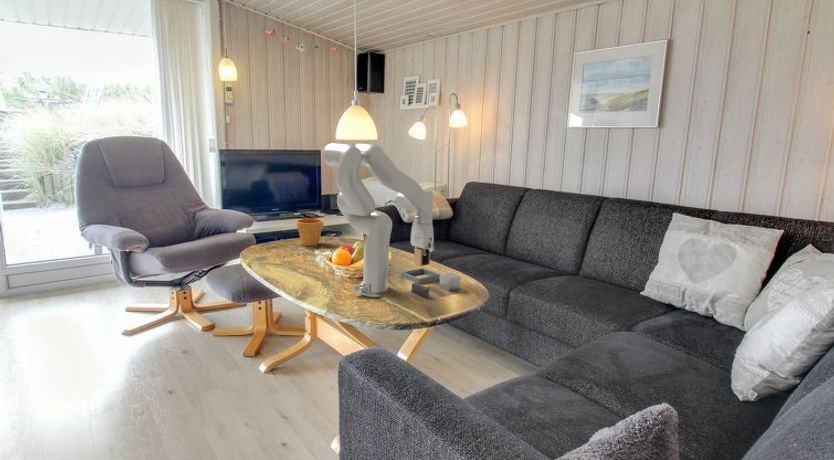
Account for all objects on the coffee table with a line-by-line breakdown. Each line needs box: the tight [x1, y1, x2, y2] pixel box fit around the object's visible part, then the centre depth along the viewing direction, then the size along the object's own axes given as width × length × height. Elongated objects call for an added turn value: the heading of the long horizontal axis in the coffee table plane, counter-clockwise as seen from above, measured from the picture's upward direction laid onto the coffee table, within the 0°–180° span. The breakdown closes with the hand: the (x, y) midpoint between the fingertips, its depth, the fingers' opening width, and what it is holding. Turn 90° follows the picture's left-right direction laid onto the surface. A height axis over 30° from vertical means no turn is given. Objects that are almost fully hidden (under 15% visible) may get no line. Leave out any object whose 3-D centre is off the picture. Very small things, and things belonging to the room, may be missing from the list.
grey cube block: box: [438, 272, 462, 291], centre depth 190 cm, size 6×6×5 cm
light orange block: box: [414, 248, 431, 267], centre depth 202 cm, size 5×4×7 cm
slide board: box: [402, 282, 468, 302], centre depth 186 cm, size 23×12×5 cm, turn 129°
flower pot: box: [295, 218, 324, 247], centre depth 261 cm, size 14×14×13 cm
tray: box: [400, 267, 441, 285], centre depth 203 cm, size 12×12×4 cm
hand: (421, 262), depth 202 cm, fingers closed on light orange block, 4 cm apart
